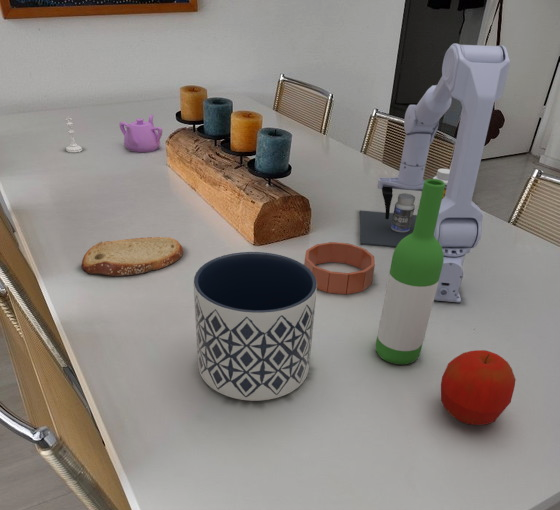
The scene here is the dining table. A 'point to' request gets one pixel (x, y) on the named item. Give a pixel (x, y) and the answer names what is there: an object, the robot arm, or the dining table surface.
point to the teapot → (141, 135)
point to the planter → (254, 324)
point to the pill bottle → (403, 213)
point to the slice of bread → (131, 256)
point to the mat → (380, 229)
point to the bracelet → (341, 254)
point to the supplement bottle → (443, 178)
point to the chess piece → (72, 138)
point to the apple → (477, 387)
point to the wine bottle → (412, 283)
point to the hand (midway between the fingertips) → (402, 218)
